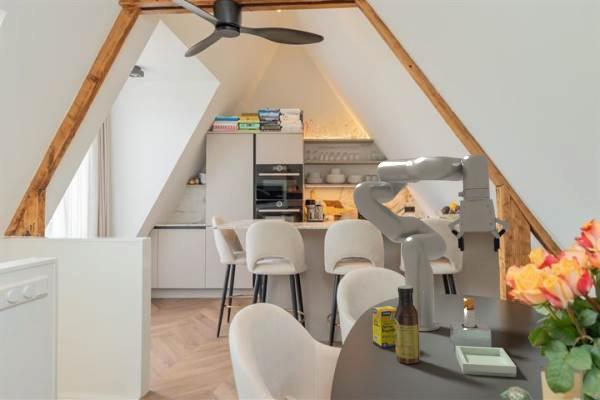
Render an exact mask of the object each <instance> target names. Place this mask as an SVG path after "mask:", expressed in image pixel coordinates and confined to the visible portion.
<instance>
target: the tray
mask: <svg viewBox="0 0 600 400" xmlns="http://www.w3.org/2000/svg"><path fill="white" fill-rule="evenodd" d="M455 357H456V359H457V361H458V364H459V367H460V369H461V372H462V374H463V375H472V376H473V375H475V376H476V375H477V376H489V377H491V376H492V377H504V378H505V377H507V378H508V377H509V378H517V366H516V364H515V363H514V362H513V360H512V359H511V357H510V356H509V355H508V354H507V352H506V351H505V350H504V348H503V347H491V348H490V347H469V346H456V350H455Z"/></svg>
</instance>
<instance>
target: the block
mask: <svg viewBox="0 0 600 400" xmlns="http://www.w3.org/2000/svg"><path fill="white" fill-rule="evenodd" d="M449 328H450V329H449V331H450V333H449V335H450V344H451V346H452V348H453V351H456V346H469V347H490V348H492V330H491V329H490V327H489V326H488V324H487V323H486V322H485V323H484V322H475V328H464V321H463V322H462V321H461V322H460V321H450V322H449Z"/></svg>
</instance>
